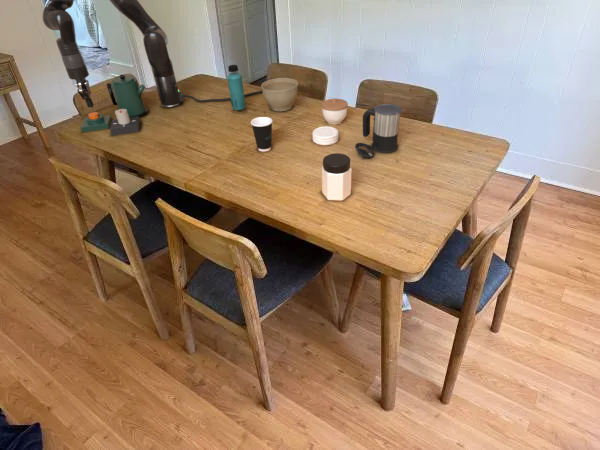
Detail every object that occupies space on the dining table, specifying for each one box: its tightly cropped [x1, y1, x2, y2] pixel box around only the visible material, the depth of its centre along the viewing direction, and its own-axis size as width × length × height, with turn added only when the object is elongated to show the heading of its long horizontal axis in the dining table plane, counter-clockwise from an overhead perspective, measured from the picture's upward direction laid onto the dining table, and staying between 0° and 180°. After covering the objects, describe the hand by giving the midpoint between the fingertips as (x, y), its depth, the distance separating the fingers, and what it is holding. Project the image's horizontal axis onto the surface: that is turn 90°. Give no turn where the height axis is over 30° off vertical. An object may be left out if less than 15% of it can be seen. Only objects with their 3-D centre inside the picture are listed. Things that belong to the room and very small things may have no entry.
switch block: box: [80, 113, 113, 133], centre depth 179 cm, size 11×10×4 cm
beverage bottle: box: [226, 64, 247, 111], centre depth 180 cm, size 6×7×20 cm
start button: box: [87, 111, 100, 119], centre depth 178 cm, size 4×4×2 cm
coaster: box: [311, 125, 339, 146], centre depth 157 cm, size 10×10×4 cm
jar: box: [321, 152, 353, 201], centre depth 125 cm, size 9×8×12 cm
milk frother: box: [354, 103, 402, 159], centre depth 145 cm, size 14×16×15 cm
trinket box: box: [320, 98, 349, 125], centre depth 169 cm, size 11×11×9 cm
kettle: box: [106, 74, 149, 119], centre depth 183 cm, size 18×13×18 cm
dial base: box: [109, 116, 141, 136], centre depth 175 cm, size 11×10×3 cm
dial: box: [114, 108, 130, 125], centre depth 173 cm, size 5×5×5 cm
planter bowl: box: [260, 77, 299, 112], centre depth 183 cm, size 16×16×11 cm
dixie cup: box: [250, 116, 273, 152], centre depth 152 cm, size 8×8×11 cm
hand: (91, 106), depth 175 cm, fingers closed
